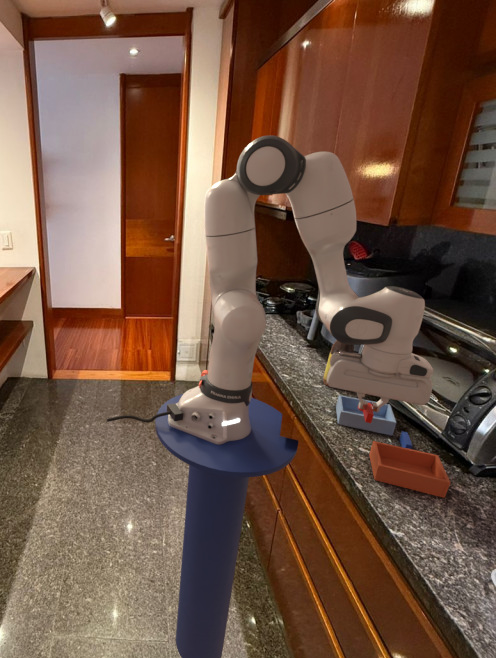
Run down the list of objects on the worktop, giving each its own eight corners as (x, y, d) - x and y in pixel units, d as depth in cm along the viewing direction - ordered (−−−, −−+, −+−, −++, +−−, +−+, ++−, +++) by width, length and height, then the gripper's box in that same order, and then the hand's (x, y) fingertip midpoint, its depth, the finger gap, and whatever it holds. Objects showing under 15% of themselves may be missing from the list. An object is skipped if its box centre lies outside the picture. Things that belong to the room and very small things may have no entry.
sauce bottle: (326, 388, 120) (339, 329, 113) (319, 379, 126) (331, 322, 118) (349, 390, 119) (364, 330, 112) (340, 380, 125) (354, 322, 118)
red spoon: (376, 424, 90) (378, 415, 89) (360, 421, 91) (362, 412, 91) (371, 407, 97) (374, 399, 96) (357, 404, 98) (359, 396, 97)
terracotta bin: (374, 480, 84) (378, 465, 82) (369, 454, 91) (373, 440, 90) (444, 498, 79) (450, 482, 77) (432, 469, 87) (438, 455, 85)
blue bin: (337, 424, 103) (340, 411, 101) (335, 407, 111) (338, 394, 109) (392, 435, 98) (396, 422, 96) (386, 417, 106) (390, 404, 104)
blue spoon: (394, 438, 97) (396, 430, 96) (409, 441, 96) (412, 433, 95) (400, 457, 90) (403, 449, 90) (417, 461, 89) (420, 452, 88)
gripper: (333, 354, 89) (320, 405, 95) (443, 372, 81) (422, 427, 87) (332, 344, 95) (320, 393, 100) (434, 361, 87) (415, 413, 92)
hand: (368, 409), depth 93 cm, fingers closed on red spoon, 1 cm apart
